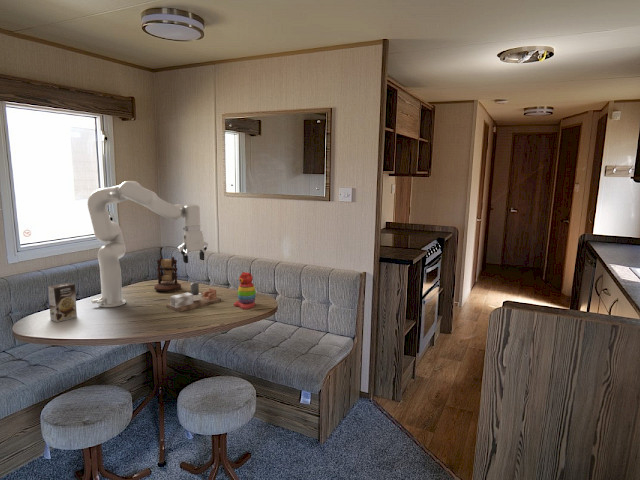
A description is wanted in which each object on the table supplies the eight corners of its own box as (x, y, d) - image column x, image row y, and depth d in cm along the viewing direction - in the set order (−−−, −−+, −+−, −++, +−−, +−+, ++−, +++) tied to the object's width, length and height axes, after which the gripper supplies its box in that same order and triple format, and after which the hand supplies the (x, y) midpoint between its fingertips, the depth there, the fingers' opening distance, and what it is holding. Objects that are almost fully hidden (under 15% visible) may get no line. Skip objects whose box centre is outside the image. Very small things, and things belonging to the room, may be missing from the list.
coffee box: (57, 322, 193) (54, 288, 190) (50, 319, 196) (47, 286, 194) (77, 317, 201) (75, 284, 198) (70, 314, 204) (67, 282, 201)
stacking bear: (232, 305, 223) (231, 272, 221) (247, 301, 231) (247, 269, 228) (244, 310, 216) (244, 276, 213) (260, 305, 223) (260, 272, 220)
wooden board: (179, 311, 211) (178, 299, 210) (166, 306, 219) (165, 295, 218) (221, 300, 230) (220, 289, 229) (207, 296, 238) (207, 285, 237)
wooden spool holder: (184, 286, 257) (183, 254, 254) (177, 293, 243) (176, 259, 240) (159, 286, 256) (157, 254, 253) (150, 293, 242) (149, 258, 239)
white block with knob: (178, 305, 215) (177, 287, 213) (173, 303, 217) (173, 286, 216) (202, 299, 225) (201, 282, 224) (197, 297, 228) (197, 281, 227)
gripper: (181, 231, 210) (183, 264, 212) (211, 227, 223) (212, 259, 226) (173, 229, 215) (175, 262, 217) (202, 226, 228) (203, 257, 230)
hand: (194, 261), depth 221 cm, fingers open, 9 cm apart
